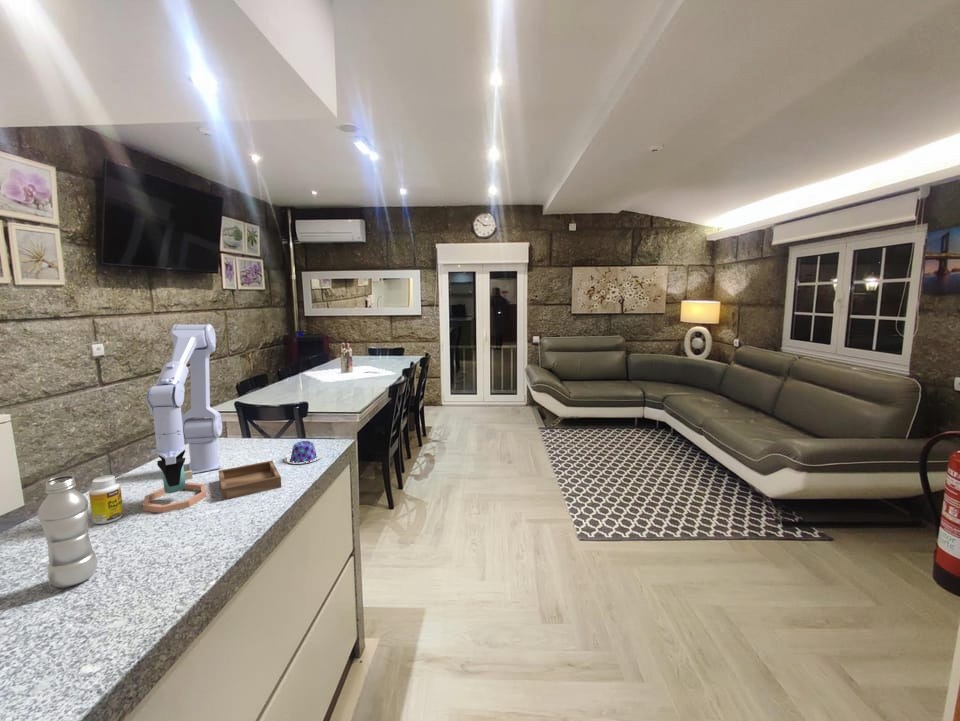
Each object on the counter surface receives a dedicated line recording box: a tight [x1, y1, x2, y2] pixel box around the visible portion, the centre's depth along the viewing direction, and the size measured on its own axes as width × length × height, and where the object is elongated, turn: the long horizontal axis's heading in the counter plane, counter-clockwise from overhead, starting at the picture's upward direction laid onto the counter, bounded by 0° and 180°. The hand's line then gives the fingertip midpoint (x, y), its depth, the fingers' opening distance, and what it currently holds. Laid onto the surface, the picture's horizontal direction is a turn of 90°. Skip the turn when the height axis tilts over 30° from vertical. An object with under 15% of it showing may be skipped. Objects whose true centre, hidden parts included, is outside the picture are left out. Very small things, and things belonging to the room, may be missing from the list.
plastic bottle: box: [37, 474, 98, 589], centre depth 77 cm, size 6×7×20 cm
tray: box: [218, 460, 282, 501], centre depth 119 cm, size 14×14×3 cm
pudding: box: [283, 440, 324, 465], centre depth 138 cm, size 12×12×5 cm
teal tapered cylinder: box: [161, 464, 193, 494], centre depth 109 cm, size 4×6×6 cm
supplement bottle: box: [88, 474, 124, 525], centre depth 99 cm, size 6×6×10 cm
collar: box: [142, 481, 207, 514], centre depth 110 cm, size 13×13×2 cm
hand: (174, 481), depth 109 cm, fingers closed on teal tapered cylinder, 4 cm apart
